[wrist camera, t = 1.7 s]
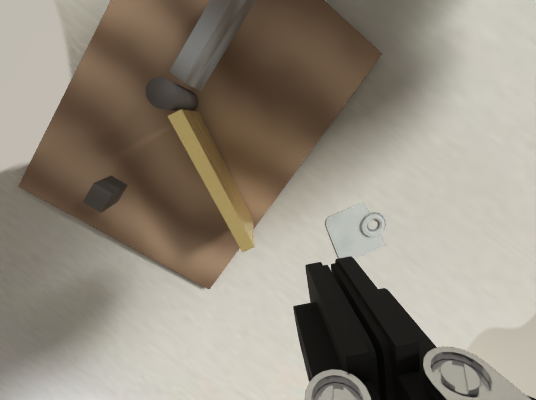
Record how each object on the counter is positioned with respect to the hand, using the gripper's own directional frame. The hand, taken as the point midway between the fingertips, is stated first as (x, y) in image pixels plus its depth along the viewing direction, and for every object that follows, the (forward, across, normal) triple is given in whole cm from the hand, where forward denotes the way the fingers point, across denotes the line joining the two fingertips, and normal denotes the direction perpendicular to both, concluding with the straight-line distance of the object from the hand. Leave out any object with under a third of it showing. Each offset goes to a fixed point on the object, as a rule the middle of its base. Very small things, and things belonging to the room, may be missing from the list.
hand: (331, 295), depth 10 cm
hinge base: (+18, +6, -7) cm, 20 cm away
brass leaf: (+17, +5, -3) cm, 18 cm away
